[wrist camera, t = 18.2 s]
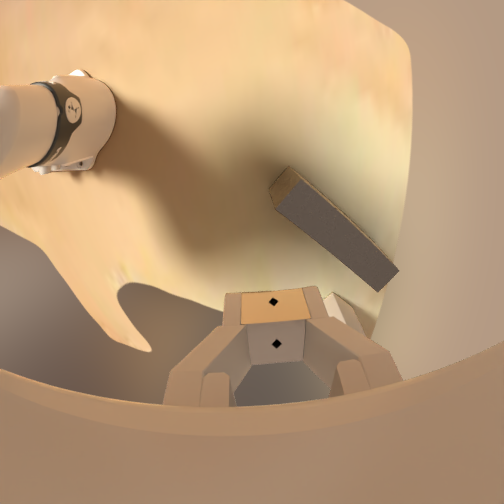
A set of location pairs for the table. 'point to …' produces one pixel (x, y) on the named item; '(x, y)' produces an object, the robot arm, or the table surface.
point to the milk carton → (342, 312)
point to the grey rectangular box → (331, 228)
